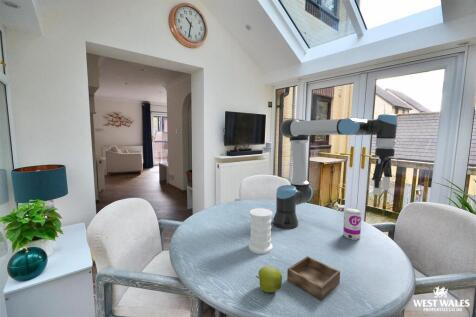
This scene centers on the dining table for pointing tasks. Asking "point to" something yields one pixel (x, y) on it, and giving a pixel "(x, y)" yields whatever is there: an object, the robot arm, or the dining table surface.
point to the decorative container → (260, 231)
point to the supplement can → (352, 223)
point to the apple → (269, 279)
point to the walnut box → (313, 277)
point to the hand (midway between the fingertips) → (381, 192)
